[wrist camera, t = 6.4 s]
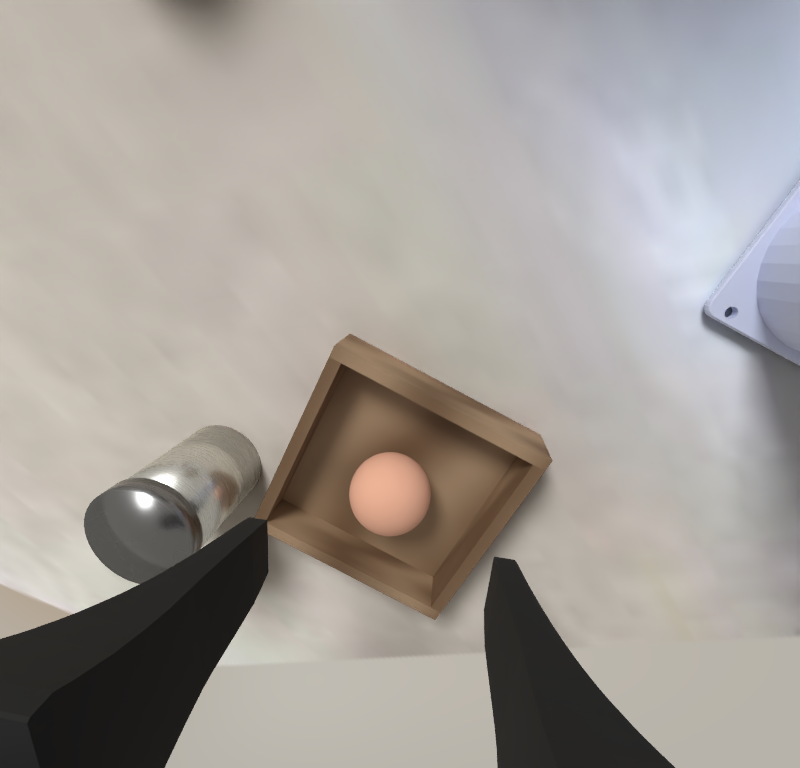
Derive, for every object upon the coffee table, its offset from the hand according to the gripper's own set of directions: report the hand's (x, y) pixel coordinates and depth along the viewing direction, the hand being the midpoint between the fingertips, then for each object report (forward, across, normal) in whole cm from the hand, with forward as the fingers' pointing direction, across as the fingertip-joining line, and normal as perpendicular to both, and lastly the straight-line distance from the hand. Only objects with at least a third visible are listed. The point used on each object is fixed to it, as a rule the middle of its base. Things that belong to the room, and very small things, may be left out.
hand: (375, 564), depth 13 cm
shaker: (+10, +11, +3) cm, 15 cm away
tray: (+10, 0, +2) cm, 10 cm away
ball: (+7, 0, +2) cm, 8 cm away
